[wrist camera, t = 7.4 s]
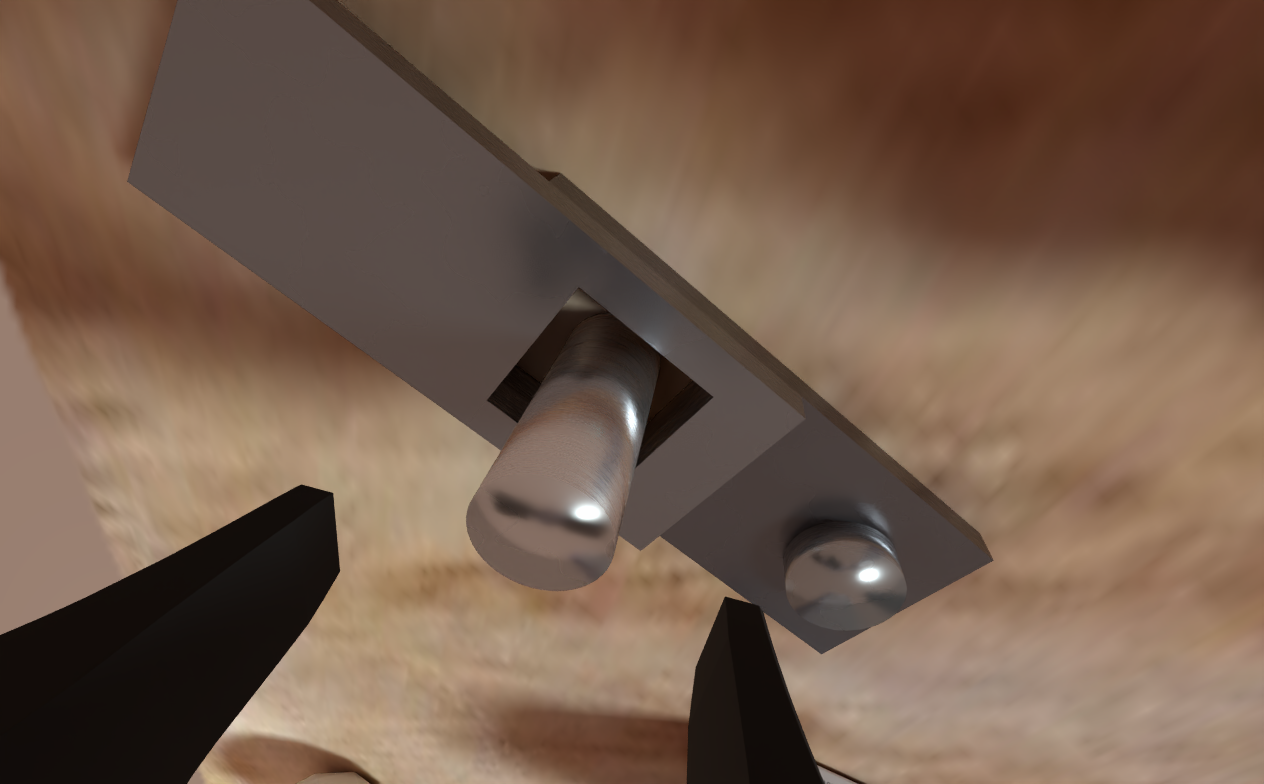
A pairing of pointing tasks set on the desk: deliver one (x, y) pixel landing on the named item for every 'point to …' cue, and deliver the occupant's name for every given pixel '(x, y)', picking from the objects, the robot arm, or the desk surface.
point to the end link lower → (808, 506)
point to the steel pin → (569, 462)
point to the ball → (334, 778)
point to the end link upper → (424, 233)
